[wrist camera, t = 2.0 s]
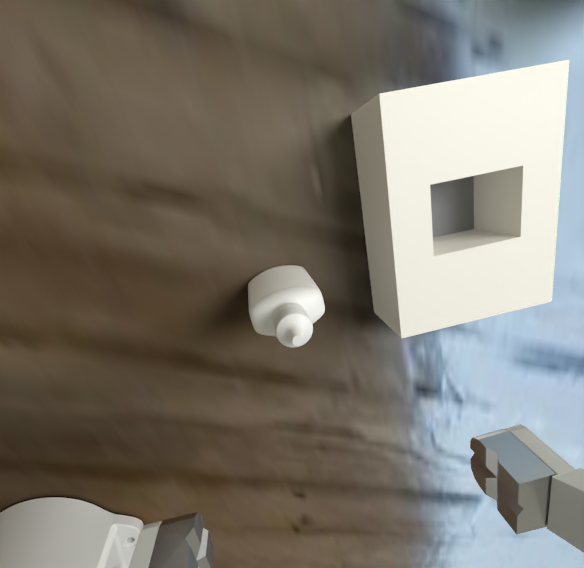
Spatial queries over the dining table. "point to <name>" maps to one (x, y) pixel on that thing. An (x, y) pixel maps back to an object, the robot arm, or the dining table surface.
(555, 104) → the holder block
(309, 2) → the dining table surface
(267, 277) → the white plastic bottle
